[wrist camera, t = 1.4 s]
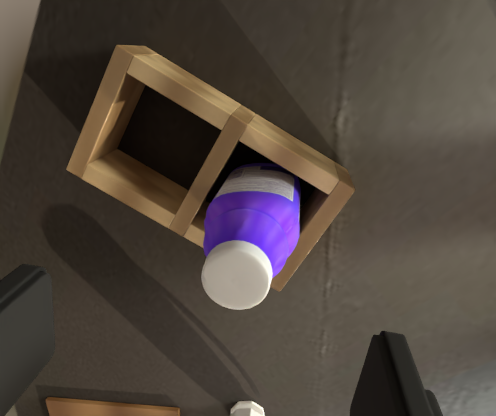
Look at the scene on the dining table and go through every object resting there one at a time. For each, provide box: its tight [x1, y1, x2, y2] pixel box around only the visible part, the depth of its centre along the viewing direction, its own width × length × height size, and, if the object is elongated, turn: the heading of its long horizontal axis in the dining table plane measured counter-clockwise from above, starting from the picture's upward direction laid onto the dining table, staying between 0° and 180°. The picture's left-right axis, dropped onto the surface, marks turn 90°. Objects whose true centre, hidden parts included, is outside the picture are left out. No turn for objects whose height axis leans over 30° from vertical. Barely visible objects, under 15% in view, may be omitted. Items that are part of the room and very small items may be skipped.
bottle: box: [201, 163, 301, 310], centre depth 31 cm, size 7×6×17 cm
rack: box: [66, 45, 355, 292], centre depth 36 cm, size 22×12×6 cm, turn 60°
